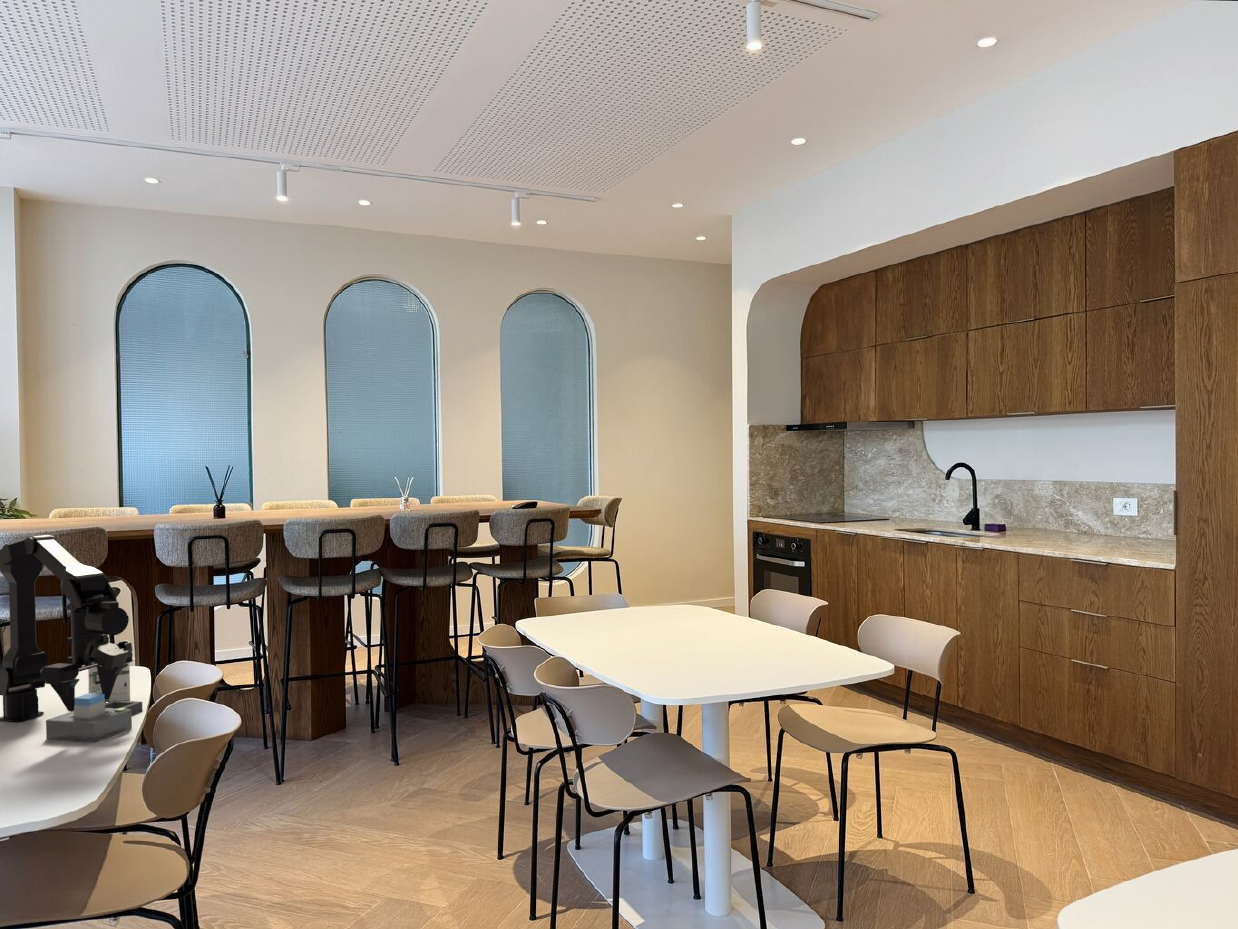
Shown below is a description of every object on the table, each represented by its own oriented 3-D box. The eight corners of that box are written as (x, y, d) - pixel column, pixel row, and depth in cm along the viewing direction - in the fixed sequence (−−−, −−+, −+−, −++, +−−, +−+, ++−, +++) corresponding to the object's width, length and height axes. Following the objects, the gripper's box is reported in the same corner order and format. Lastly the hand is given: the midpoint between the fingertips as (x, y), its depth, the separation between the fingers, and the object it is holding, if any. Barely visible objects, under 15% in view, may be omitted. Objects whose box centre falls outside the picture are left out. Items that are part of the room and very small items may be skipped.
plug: (74, 736, 187) (73, 698, 187) (90, 730, 191) (89, 693, 191) (90, 737, 186) (88, 699, 186) (105, 731, 190) (104, 693, 190)
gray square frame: (86, 718, 200) (86, 709, 200) (114, 708, 208) (114, 700, 208) (115, 720, 198) (115, 711, 198) (142, 710, 206) (142, 701, 206)
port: (46, 739, 185) (45, 718, 185) (86, 725, 195) (85, 705, 195) (94, 742, 182) (93, 721, 182) (131, 727, 192) (131, 707, 192)
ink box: (89, 706, 211) (88, 656, 211) (88, 701, 215) (87, 652, 215) (131, 699, 215) (129, 651, 215) (129, 695, 220) (127, 647, 220)
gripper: (81, 641, 177) (84, 720, 178) (152, 624, 196) (154, 695, 196) (36, 640, 180) (39, 717, 180) (110, 623, 198) (112, 693, 198)
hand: (89, 705), depth 189 cm, fingers open, 9 cm apart
